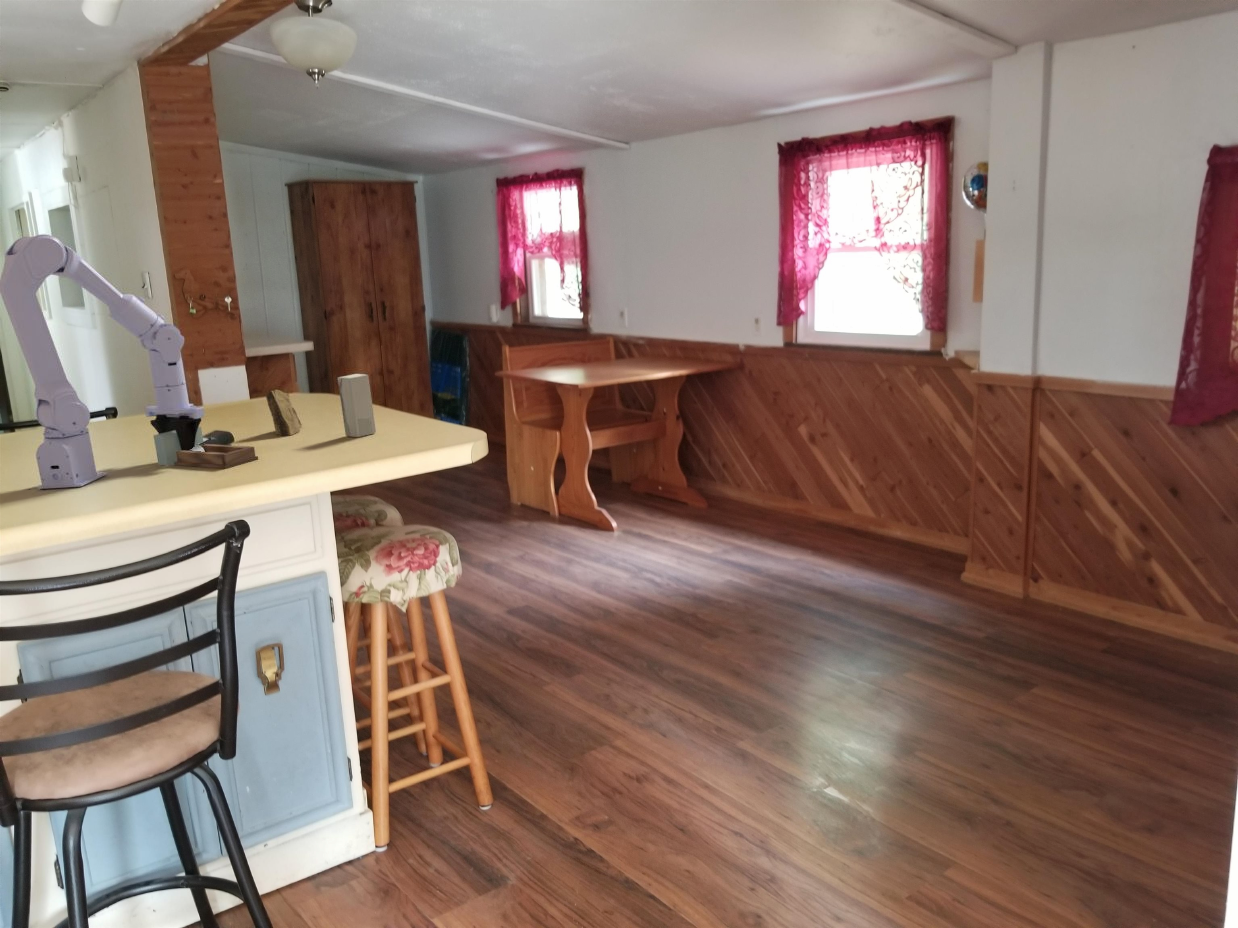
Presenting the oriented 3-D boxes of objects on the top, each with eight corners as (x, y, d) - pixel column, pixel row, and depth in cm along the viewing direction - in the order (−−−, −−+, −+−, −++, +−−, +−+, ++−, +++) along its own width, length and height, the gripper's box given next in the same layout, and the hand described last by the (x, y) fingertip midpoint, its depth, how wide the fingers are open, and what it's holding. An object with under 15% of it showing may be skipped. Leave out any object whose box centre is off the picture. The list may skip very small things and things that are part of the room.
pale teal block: (196, 455, 195) (192, 426, 194) (205, 455, 194) (200, 426, 192) (158, 465, 187) (153, 435, 186) (167, 466, 186) (162, 435, 185)
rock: (285, 416, 222) (252, 418, 213) (301, 386, 219) (267, 387, 210) (314, 445, 219) (281, 449, 210) (331, 416, 216) (298, 418, 207)
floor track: (258, 459, 186) (256, 446, 186) (225, 468, 180) (223, 455, 179) (207, 456, 193) (205, 443, 192) (174, 465, 186) (172, 452, 185)
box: (364, 431, 209) (357, 373, 206) (376, 433, 206) (369, 374, 203) (343, 436, 205) (336, 376, 202) (356, 438, 202) (348, 377, 199)
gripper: (212, 382, 187) (223, 450, 190) (162, 381, 194) (173, 447, 197) (182, 388, 181) (193, 458, 184) (131, 387, 188) (143, 454, 191)
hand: (181, 453), depth 190 cm, fingers open, 4 cm apart
